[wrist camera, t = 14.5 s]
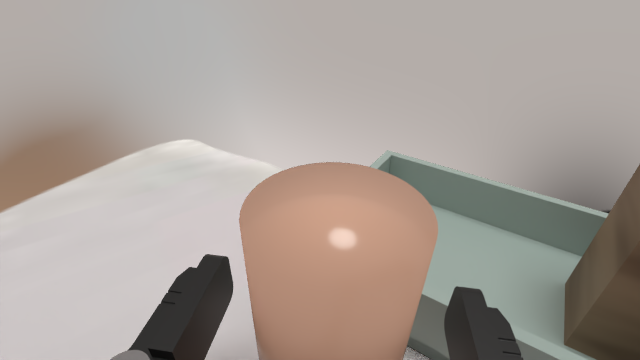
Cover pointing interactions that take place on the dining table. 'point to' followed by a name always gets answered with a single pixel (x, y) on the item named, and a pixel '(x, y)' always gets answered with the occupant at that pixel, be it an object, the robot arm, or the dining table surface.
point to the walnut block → (608, 286)
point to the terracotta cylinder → (335, 262)
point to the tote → (497, 255)
